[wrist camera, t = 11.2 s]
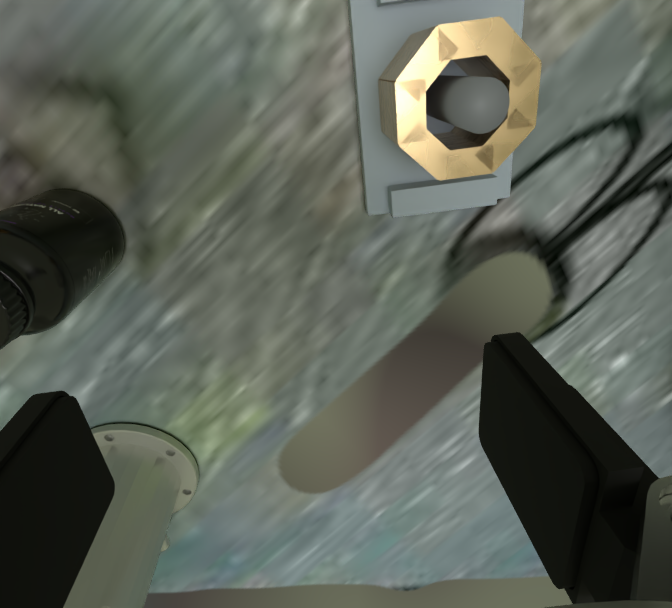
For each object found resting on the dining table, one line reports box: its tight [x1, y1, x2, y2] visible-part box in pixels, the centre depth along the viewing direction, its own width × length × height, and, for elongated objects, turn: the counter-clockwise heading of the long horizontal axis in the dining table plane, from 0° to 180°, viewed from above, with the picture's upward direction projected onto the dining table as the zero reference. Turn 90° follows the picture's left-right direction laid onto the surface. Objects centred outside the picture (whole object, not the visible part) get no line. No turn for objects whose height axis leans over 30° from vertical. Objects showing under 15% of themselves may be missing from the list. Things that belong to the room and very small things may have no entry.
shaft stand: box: [348, 0, 524, 218], centre depth 24 cm, size 14×10×10 cm
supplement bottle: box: [0, 189, 124, 349], centre depth 26 cm, size 7×7×12 cm
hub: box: [378, 16, 541, 181], centre depth 25 cm, size 7×7×6 cm
